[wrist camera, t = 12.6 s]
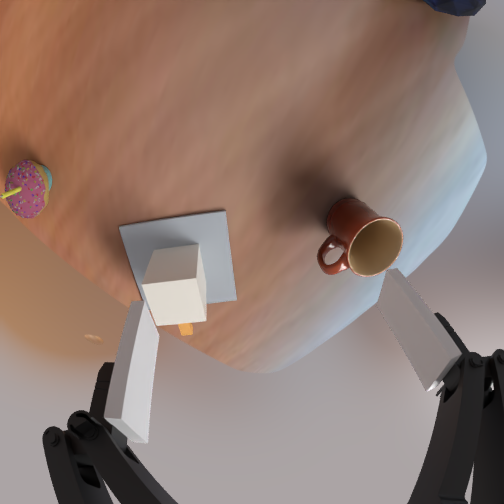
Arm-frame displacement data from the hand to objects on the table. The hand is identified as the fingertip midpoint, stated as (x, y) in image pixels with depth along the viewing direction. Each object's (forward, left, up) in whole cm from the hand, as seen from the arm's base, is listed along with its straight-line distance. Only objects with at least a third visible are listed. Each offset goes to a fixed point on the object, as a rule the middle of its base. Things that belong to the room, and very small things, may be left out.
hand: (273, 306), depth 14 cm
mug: (+9, +15, -26) cm, 31 cm away
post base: (+13, -10, -26) cm, 30 cm away
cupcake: (-5, -30, -26) cm, 40 cm away
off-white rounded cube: (+14, -10, -25) cm, 31 cm away
